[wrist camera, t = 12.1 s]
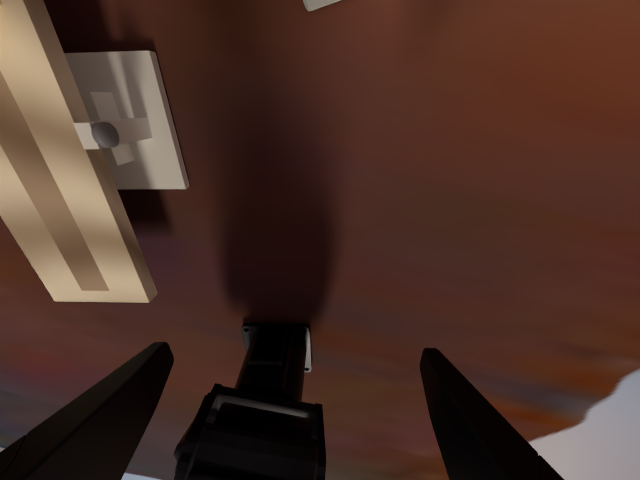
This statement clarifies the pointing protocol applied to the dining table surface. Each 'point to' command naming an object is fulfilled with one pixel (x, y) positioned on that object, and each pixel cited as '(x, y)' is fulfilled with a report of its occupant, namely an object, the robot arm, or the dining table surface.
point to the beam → (59, 172)
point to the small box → (317, 4)
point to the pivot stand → (129, 118)
